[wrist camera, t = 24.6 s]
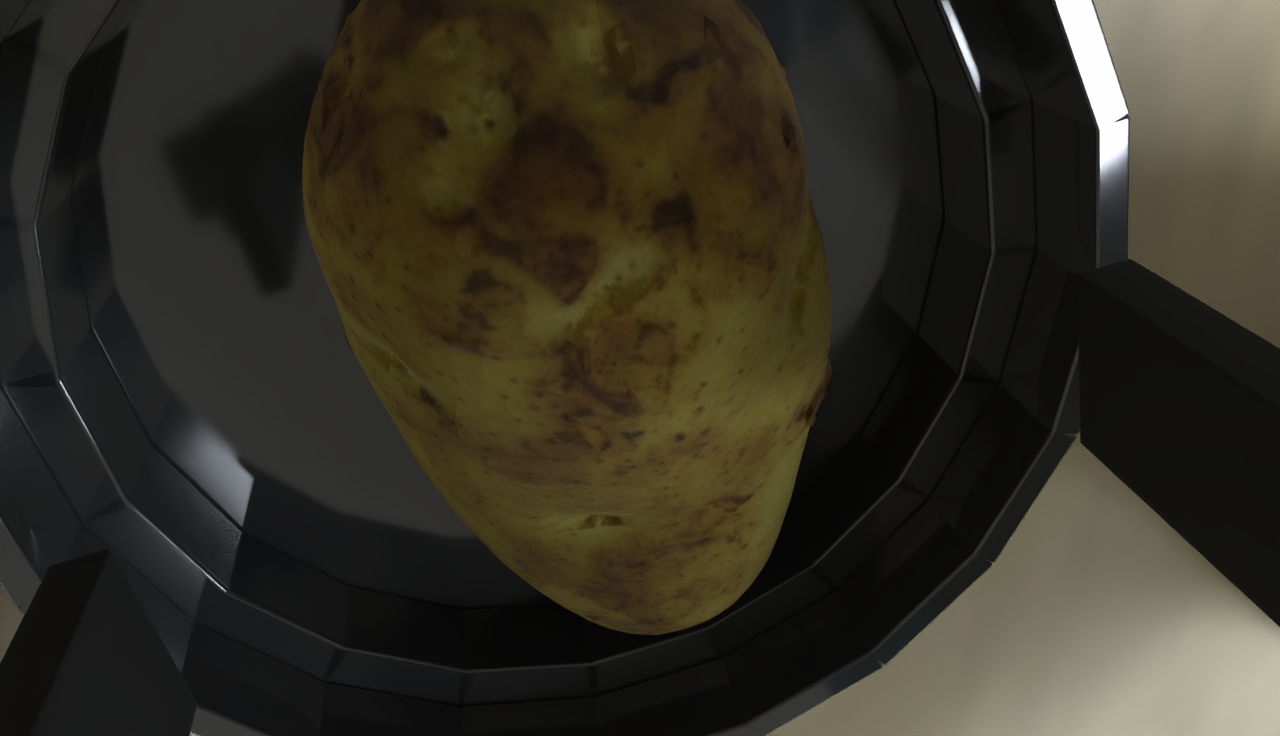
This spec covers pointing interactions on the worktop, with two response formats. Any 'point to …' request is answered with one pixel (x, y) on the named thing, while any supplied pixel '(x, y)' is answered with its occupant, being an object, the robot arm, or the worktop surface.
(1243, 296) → the worktop surface
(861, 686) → the worktop surface
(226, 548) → the pan
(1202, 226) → the worktop surface
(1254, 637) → the worktop surface
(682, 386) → the potato
